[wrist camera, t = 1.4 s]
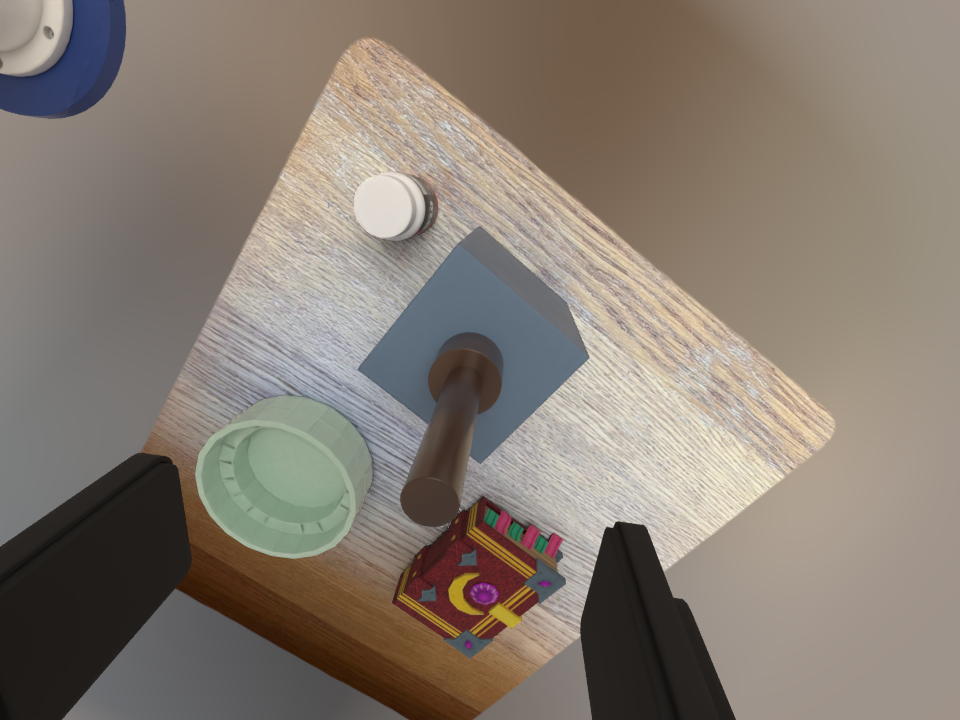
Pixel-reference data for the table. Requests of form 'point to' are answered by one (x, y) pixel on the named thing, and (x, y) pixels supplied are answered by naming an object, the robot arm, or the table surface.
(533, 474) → the table surface
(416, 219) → the pill bottle
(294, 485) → the bowl
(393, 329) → the stand
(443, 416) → the brown wooden handle
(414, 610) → the decorative book
